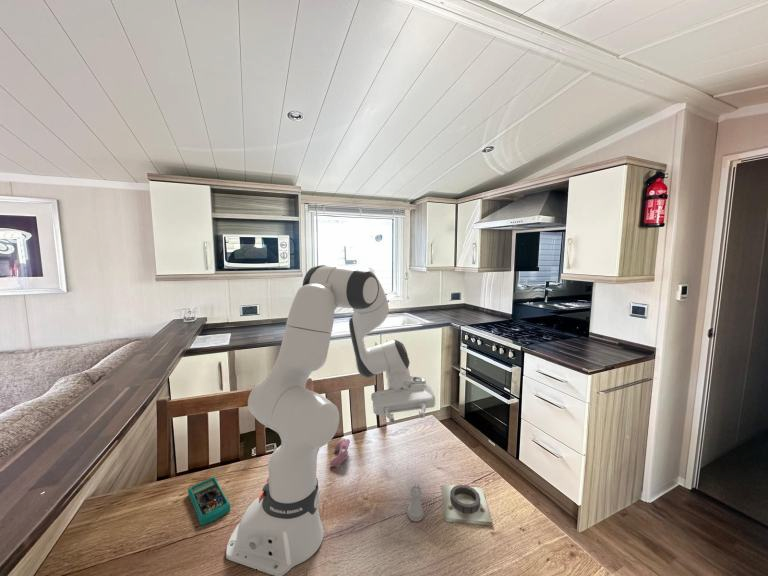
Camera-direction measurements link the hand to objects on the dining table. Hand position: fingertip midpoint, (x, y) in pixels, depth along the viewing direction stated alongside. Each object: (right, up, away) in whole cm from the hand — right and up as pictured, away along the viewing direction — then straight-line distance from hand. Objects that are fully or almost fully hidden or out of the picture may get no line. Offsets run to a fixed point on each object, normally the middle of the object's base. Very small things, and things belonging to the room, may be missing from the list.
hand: (407, 418), depth 94 cm
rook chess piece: (+1, -22, -10) cm, 25 cm away
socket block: (+16, -22, -6) cm, 28 cm away
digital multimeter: (-56, -22, -7) cm, 61 cm away
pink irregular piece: (-22, -19, +13) cm, 32 cm away
